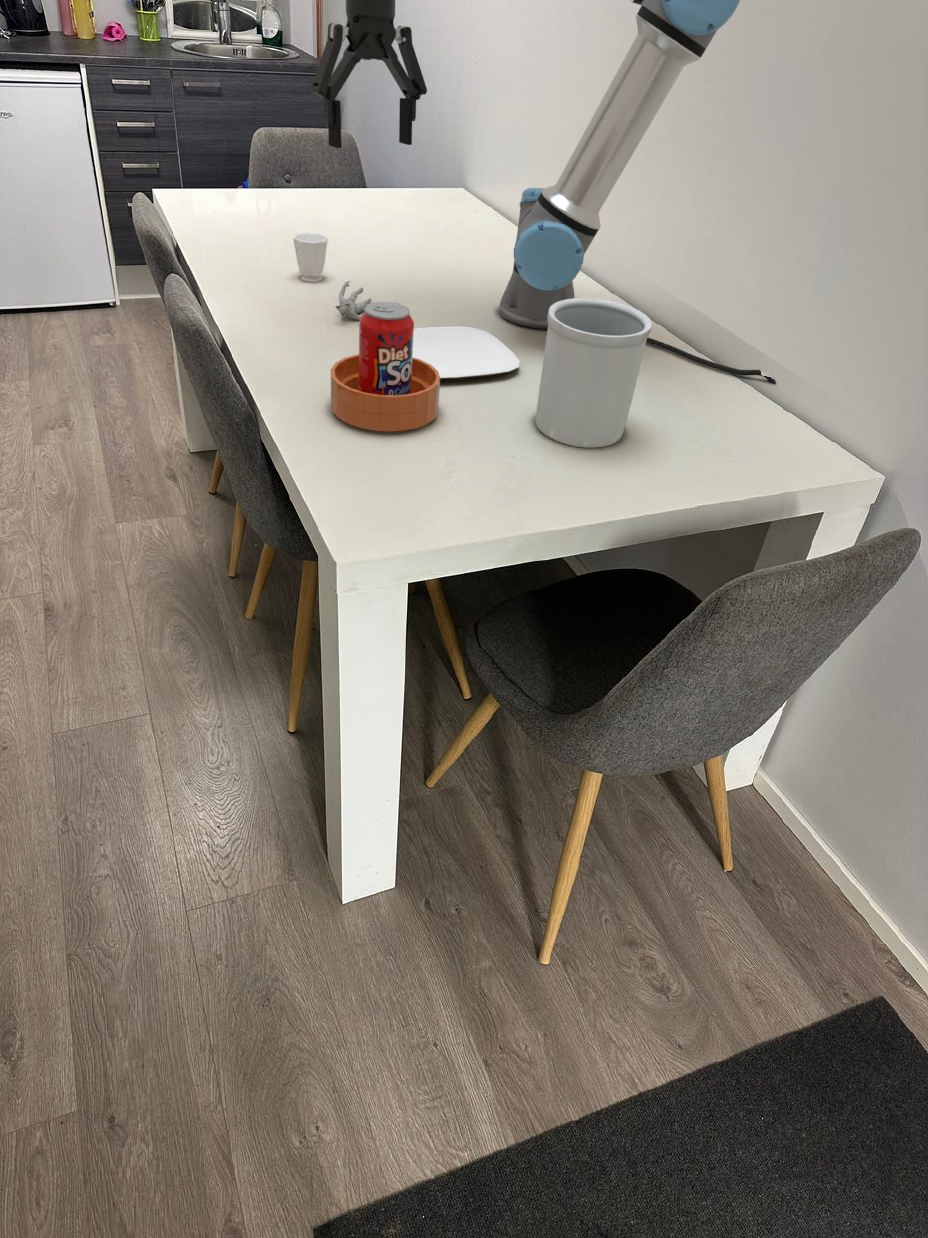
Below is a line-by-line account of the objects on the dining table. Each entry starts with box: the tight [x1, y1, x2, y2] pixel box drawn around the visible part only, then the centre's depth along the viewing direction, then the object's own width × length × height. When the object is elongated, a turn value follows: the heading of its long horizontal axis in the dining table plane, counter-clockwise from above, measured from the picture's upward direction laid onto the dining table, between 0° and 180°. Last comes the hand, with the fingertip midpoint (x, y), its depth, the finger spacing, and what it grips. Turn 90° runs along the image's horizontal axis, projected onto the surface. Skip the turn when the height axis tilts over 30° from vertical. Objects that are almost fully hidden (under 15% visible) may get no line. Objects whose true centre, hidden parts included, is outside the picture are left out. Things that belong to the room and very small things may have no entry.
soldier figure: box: [334, 280, 373, 321], centre depth 163 cm, size 8×5×12 cm
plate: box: [413, 325, 521, 380], centre depth 151 cm, size 22×22×2 cm
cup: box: [292, 232, 329, 283], centre depth 177 cm, size 7×10×8 cm
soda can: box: [358, 301, 415, 395], centre depth 128 cm, size 8×8×15 cm
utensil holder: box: [535, 297, 653, 449], centre depth 129 cm, size 15×15×18 cm
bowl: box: [330, 353, 441, 432], centre depth 131 cm, size 16×16×6 cm
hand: (371, 145), depth 143 cm, fingers open, 13 cm apart
